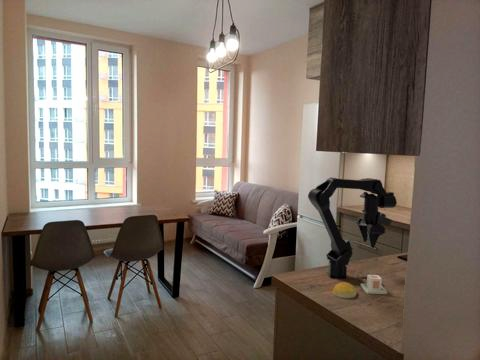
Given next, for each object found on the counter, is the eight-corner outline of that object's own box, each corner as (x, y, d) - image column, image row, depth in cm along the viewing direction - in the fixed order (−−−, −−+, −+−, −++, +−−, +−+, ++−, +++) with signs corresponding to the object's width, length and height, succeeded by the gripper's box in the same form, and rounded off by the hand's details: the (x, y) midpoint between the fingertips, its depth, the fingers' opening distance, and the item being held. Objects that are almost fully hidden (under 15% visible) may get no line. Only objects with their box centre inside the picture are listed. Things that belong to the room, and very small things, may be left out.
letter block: (370, 291, 133) (371, 278, 133) (366, 287, 137) (367, 274, 137) (381, 291, 133) (381, 278, 133) (376, 287, 137) (377, 274, 137)
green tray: (367, 294, 131) (367, 291, 131) (360, 286, 139) (360, 283, 139) (387, 294, 131) (387, 291, 131) (379, 287, 139) (379, 284, 139)
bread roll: (330, 297, 129) (331, 286, 128) (335, 288, 137) (336, 278, 136) (354, 302, 125) (354, 291, 125) (358, 292, 133) (358, 282, 133)
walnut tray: (363, 285, 139) (364, 282, 139) (357, 278, 147) (357, 276, 147) (382, 286, 139) (382, 283, 139) (375, 279, 147) (375, 276, 147)
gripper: (399, 213, 140) (397, 251, 142) (381, 205, 159) (379, 239, 160) (371, 212, 140) (369, 250, 142) (356, 204, 159) (354, 238, 160)
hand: (368, 244), depth 151 cm, fingers open, 9 cm apart
